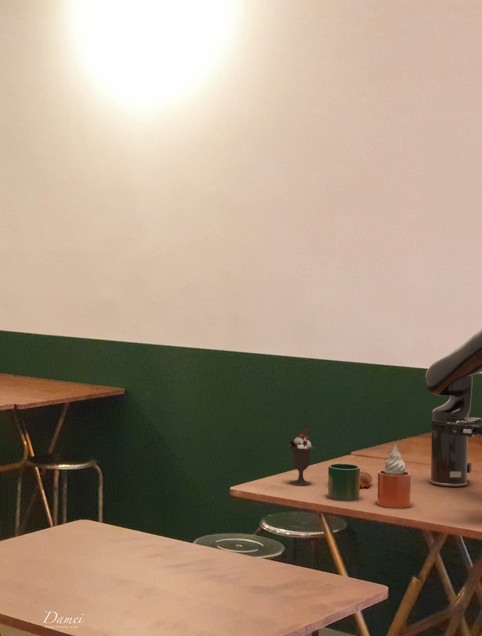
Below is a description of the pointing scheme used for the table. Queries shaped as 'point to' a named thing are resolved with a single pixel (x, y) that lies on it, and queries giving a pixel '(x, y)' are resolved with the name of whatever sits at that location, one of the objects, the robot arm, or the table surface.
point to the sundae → (301, 456)
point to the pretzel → (365, 479)
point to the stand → (343, 482)
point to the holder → (394, 490)
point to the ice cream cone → (394, 464)
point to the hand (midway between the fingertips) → (439, 423)
